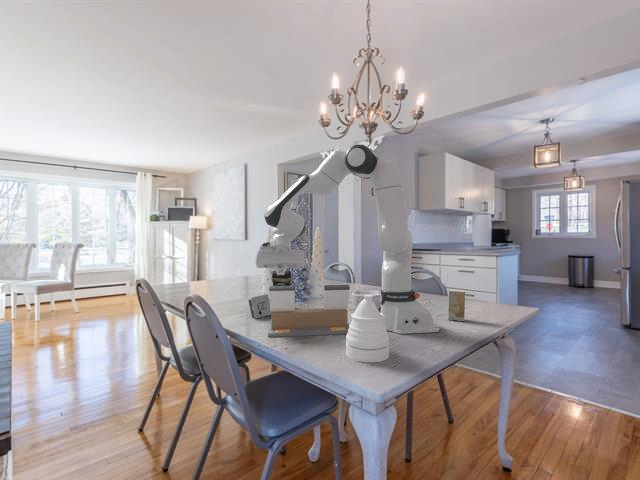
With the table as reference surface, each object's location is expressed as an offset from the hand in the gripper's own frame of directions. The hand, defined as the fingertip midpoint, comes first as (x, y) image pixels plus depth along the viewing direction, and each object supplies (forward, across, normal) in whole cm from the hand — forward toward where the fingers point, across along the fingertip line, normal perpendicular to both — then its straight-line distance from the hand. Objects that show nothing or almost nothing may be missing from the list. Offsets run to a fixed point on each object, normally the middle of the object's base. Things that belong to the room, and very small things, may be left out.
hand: (280, 274), depth 132 cm
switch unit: (+20, -11, -8) cm, 24 cm away
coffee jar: (-5, 0, -34) cm, 34 cm away
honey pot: (+40, -26, +11) cm, 49 cm away
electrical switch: (+4, +9, -24) cm, 26 cm away
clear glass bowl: (0, -41, -28) cm, 49 cm away
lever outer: (+15, -1, -3) cm, 16 cm away
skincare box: (+17, -72, -11) cm, 74 cm away
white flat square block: (+15, -21, -2) cm, 26 cm away
